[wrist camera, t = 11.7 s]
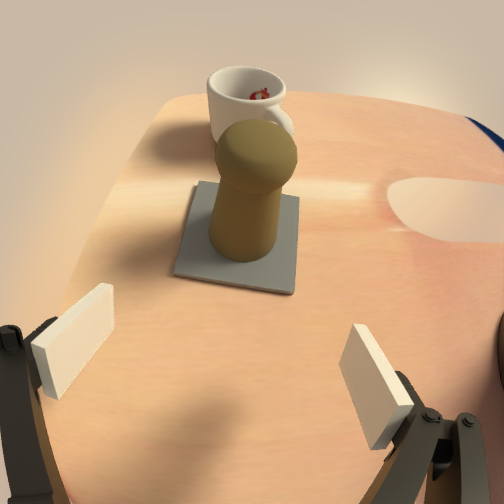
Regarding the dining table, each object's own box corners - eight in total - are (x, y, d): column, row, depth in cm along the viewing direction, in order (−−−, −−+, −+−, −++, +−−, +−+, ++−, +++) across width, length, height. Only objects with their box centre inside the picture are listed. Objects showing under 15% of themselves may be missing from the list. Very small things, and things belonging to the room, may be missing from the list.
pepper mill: (207, 205, 27) (208, 106, 18) (271, 203, 28) (298, 109, 19) (209, 264, 25) (209, 170, 15) (281, 260, 26) (320, 171, 16)
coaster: (298, 200, 30) (299, 197, 29) (292, 294, 25) (294, 292, 24) (199, 184, 29) (199, 180, 29) (173, 275, 24) (173, 272, 24)
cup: (305, 159, 33) (324, 103, 26) (253, 189, 30) (264, 127, 23) (244, 112, 36) (251, 60, 29) (192, 134, 33) (191, 77, 26)
